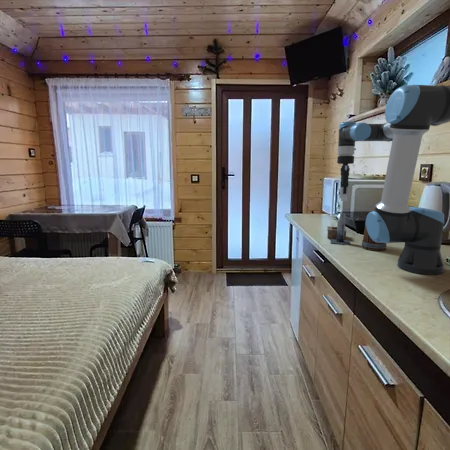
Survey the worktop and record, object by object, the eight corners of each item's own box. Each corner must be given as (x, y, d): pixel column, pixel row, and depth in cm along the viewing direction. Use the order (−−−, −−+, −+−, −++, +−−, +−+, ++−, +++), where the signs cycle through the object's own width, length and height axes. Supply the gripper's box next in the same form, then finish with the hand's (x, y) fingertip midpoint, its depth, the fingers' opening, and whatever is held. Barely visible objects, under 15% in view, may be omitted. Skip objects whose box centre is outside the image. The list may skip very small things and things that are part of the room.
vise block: (345, 240, 168) (346, 230, 167) (326, 238, 170) (327, 229, 169) (344, 236, 176) (345, 227, 175) (326, 235, 179) (327, 226, 178)
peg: (343, 242, 161) (345, 214, 158) (336, 242, 162) (338, 214, 159) (343, 240, 164) (345, 213, 162) (336, 240, 165) (337, 213, 163)
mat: (350, 244, 158) (350, 244, 158) (330, 243, 160) (330, 242, 160) (348, 240, 166) (348, 239, 166) (330, 239, 169) (330, 238, 169)
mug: (388, 251, 146) (392, 219, 143) (364, 250, 148) (366, 218, 145) (379, 243, 161) (382, 213, 158) (357, 242, 163) (359, 213, 160)
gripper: (356, 154, 142) (353, 202, 146) (352, 156, 166) (349, 197, 169) (338, 154, 144) (335, 201, 148) (336, 156, 168) (334, 197, 172)
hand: (343, 199), depth 159 cm, fingers open, 13 cm apart
